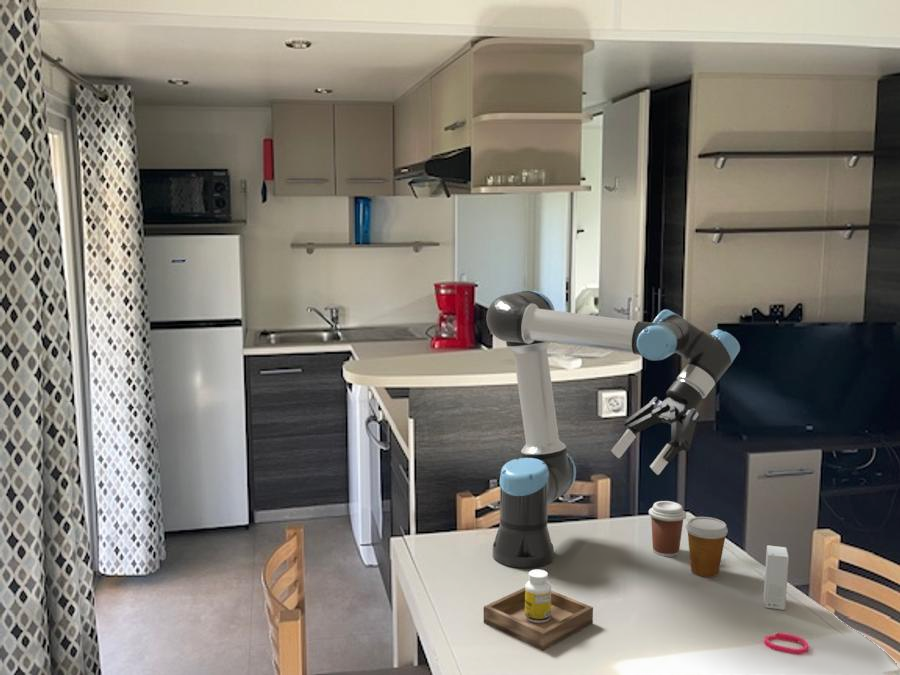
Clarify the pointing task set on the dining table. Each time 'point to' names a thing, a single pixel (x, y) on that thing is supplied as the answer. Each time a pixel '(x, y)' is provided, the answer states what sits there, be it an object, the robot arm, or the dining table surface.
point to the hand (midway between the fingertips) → (633, 462)
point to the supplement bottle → (538, 597)
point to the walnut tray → (561, 625)
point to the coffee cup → (666, 527)
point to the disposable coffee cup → (706, 545)
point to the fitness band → (788, 638)
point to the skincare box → (776, 577)
